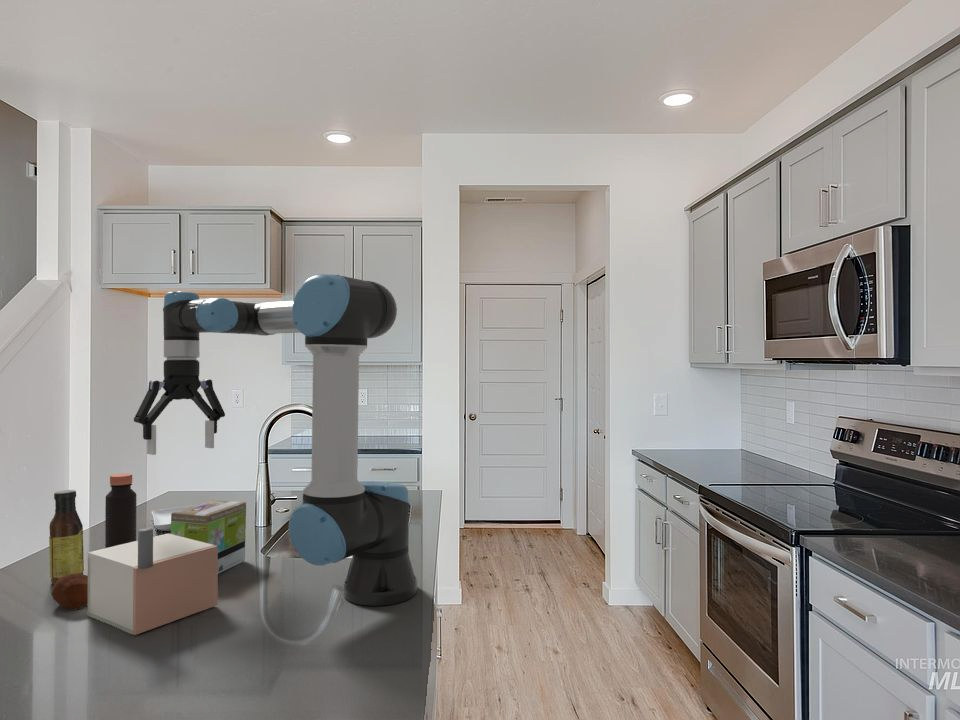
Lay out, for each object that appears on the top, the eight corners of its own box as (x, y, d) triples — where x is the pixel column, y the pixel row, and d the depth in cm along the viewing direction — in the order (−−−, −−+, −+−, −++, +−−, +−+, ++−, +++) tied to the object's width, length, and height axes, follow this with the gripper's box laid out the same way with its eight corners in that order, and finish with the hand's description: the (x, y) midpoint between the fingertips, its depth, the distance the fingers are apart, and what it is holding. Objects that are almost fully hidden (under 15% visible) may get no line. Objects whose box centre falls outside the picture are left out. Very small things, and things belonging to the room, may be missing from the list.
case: (214, 605, 124) (214, 545, 124) (133, 634, 111) (133, 567, 111) (167, 590, 133) (168, 533, 133) (87, 615, 119) (87, 552, 119)
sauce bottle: (90, 579, 139) (90, 490, 140) (61, 588, 134) (61, 495, 134) (71, 575, 142) (71, 487, 142) (42, 583, 137) (42, 492, 137)
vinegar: (137, 549, 162) (137, 472, 162) (135, 556, 156) (135, 476, 156) (106, 552, 159) (107, 473, 159) (103, 560, 153) (104, 478, 153)
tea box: (208, 582, 138) (208, 514, 138) (168, 578, 140) (168, 512, 140) (246, 561, 153) (247, 500, 153) (210, 558, 155) (210, 498, 155)
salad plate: (154, 536, 176) (154, 524, 176) (150, 520, 194) (150, 509, 194) (234, 526, 186) (234, 515, 186) (223, 512, 205) (224, 501, 205)
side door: (215, 604, 124) (215, 512, 124) (222, 606, 123) (222, 514, 123) (132, 633, 110) (133, 530, 110) (140, 637, 109) (140, 532, 109)
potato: (54, 617, 119) (54, 583, 119) (49, 603, 126) (49, 570, 126) (97, 608, 123) (97, 575, 123) (89, 595, 130) (90, 563, 130)
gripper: (223, 359, 157) (223, 444, 157) (117, 358, 138) (116, 455, 137) (239, 359, 153) (239, 446, 153) (132, 358, 133) (132, 458, 133)
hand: (181, 451), depth 145 cm, fingers open, 13 cm apart
